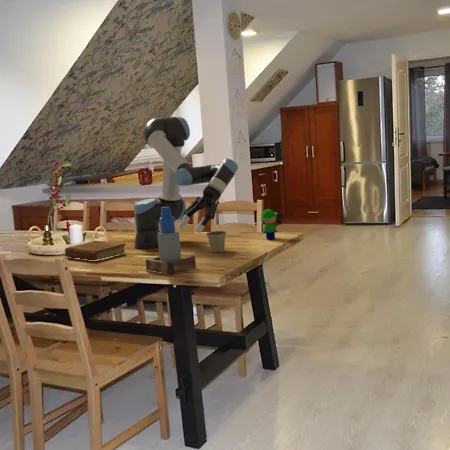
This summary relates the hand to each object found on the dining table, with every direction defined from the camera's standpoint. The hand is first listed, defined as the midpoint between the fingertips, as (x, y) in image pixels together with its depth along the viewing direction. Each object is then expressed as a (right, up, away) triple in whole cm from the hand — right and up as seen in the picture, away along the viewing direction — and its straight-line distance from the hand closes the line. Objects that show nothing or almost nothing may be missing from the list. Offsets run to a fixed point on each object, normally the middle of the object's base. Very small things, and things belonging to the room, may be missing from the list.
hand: (188, 230), depth 254 cm
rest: (-7, -16, -4) cm, 18 cm away
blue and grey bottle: (-7, -15, -4) cm, 17 cm away
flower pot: (+12, -10, +26) cm, 30 cm away
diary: (-47, -14, +37) cm, 61 cm away
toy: (+38, -5, +45) cm, 59 cm away
